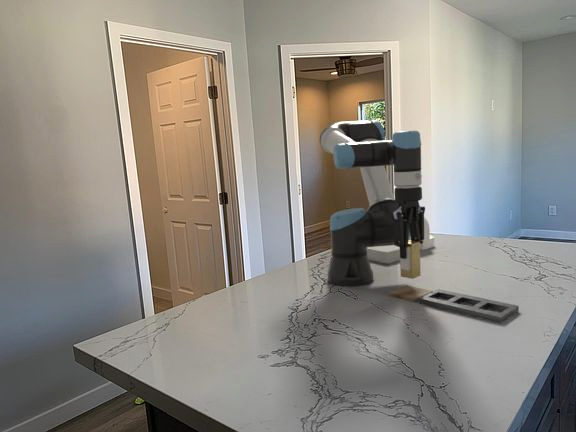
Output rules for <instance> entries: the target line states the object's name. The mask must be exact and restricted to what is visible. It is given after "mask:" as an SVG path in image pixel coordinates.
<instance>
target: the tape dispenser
mask: <svg viewBox="0 0 576 432" xmlns="http://www.w3.org/2000/svg"><path fill="white" fill-rule="evenodd" d="M430 230H431V229H430V225H429V222H428V219H427V218H426V217H425V216H424V240H421V241H423V243H422V244H420V251H421V250H422V251H424V250H427V249H431V248H435V237H434V236H433V235H431V233H430ZM420 236H421V235H420ZM409 240H410V241H411V236H410V239H409Z"/></svg>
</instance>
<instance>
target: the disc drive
mask: <svg viewBox="0 0 576 432" xmlns="http://www.w3.org/2000/svg"><path fill="white" fill-rule="evenodd" d="M367 257H368V260H369V261H375V262H379V263H383V264H391V263H394V262H397V261H399V262H400V247H397V246H394V245H390V246H377V247H367Z"/></svg>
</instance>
